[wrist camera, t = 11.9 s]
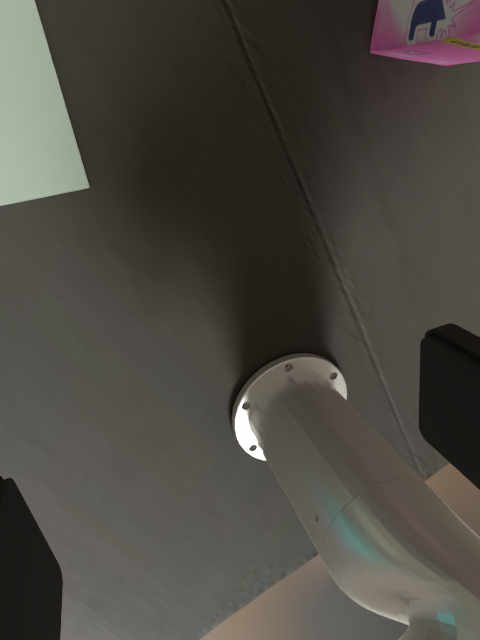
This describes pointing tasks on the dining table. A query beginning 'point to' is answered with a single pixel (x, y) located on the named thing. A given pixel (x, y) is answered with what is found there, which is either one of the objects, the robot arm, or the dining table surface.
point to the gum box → (428, 30)
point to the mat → (32, 113)
